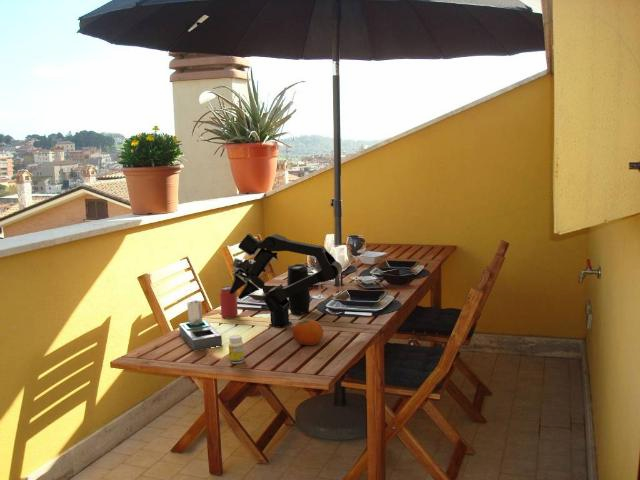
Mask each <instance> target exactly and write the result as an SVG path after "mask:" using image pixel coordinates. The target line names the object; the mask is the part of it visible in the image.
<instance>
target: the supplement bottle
mask: <svg viewBox="0 0 640 480" xmlns="http://www.w3.org/2000/svg"><path fill="white" fill-rule="evenodd" d="M228 341H229V343H228V355H229V362H230V363H231V362H232V363H231V364H241V363H244V362H245V348H244V341H243V337H242V335H241V334H231V335H229V337H228Z"/></svg>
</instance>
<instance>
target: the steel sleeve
mask: <svg viewBox="0 0 640 480" xmlns="http://www.w3.org/2000/svg"><path fill="white" fill-rule="evenodd" d="M186 305H187V316H188V317H187V318H188V322H189V328H194V327H200V326H203V320H204V319H203V311H202V310H203V307H202V301H201V300H198V299H197V300H190V301H187V303H186Z"/></svg>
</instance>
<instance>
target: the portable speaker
mask: <svg viewBox="0 0 640 480" xmlns="http://www.w3.org/2000/svg"><path fill="white" fill-rule="evenodd" d="M308 276H309V271H308V267H307V266H306V265H305V264H303V263H296V264H294V265H288V266H287V279H286V280H287V281H286V283H287V286H289V285H291V284H293V283H295V282H298V281H300V280H302V279H304V278H306V277H308ZM287 286H286V287H287ZM287 299H288V300H289V301H290V304H289V306H288V307H289V308H288V309H289V312H290V313H291V314H292V315H294V316H300V315H301V314H302V313H303V314H304V313H306V314H309V313H310V301H311V300H310V299H311V297H310V287H308V288H306V289H304V290H302V291H300V292H298V293H296V294H294V295H291V296H289V297H288V298H287Z"/></svg>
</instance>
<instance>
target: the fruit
mask: <svg viewBox="0 0 640 480" xmlns="http://www.w3.org/2000/svg"><path fill="white" fill-rule="evenodd" d="M323 330H324V329H323V327H322V325H321V324H320V322H317V321H315V320H314V319H305V320H300V321H298V322H297V323H295V325H294V326H293V328H292V338H293V339H294V340H295V342H297V343H298V344H299V345H304V346H314V345H316V344H318V343H320V341H321V340H322V339H323V335H324V331H323Z"/></svg>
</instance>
